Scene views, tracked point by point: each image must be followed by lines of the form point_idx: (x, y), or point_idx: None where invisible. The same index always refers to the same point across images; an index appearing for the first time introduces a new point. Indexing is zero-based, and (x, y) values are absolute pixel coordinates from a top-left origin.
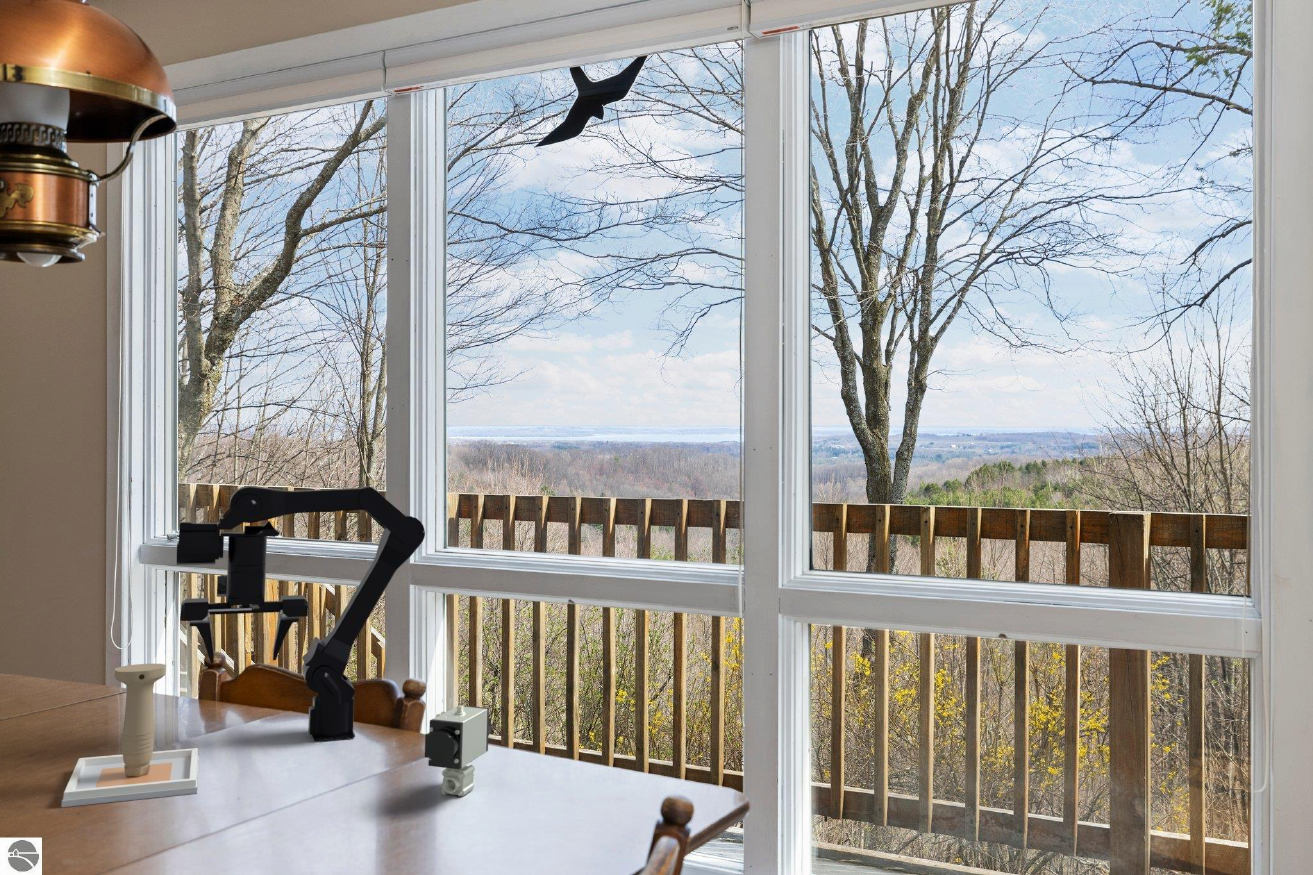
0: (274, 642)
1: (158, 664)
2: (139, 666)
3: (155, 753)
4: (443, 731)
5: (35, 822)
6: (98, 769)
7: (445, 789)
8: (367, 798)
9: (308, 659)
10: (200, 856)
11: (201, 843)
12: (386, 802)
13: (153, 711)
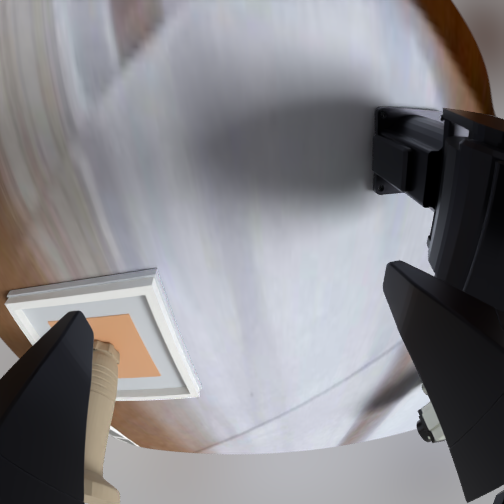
0: (442, 326)
1: (91, 496)
2: None
3: (90, 301)
4: (430, 441)
5: None
6: (42, 319)
7: (422, 386)
8: (369, 389)
9: (484, 288)
10: (237, 450)
11: (234, 442)
12: (378, 394)
13: (106, 430)
